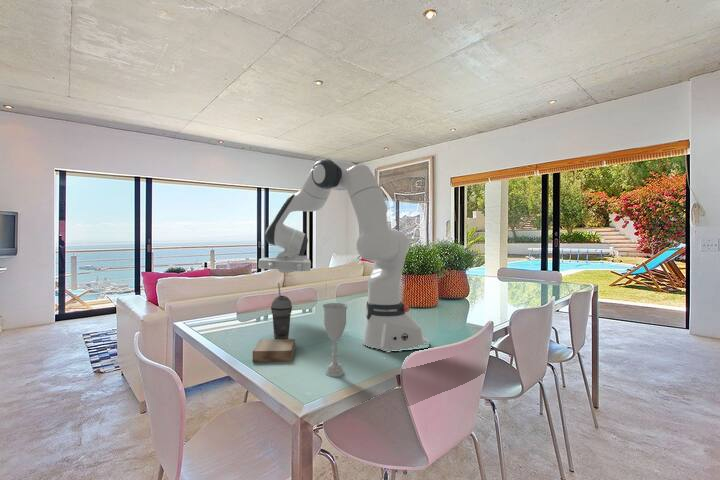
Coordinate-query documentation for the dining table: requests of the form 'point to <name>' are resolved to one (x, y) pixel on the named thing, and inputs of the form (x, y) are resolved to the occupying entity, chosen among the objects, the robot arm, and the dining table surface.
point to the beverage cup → (281, 316)
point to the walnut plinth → (274, 350)
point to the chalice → (334, 332)
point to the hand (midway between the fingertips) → (284, 267)
